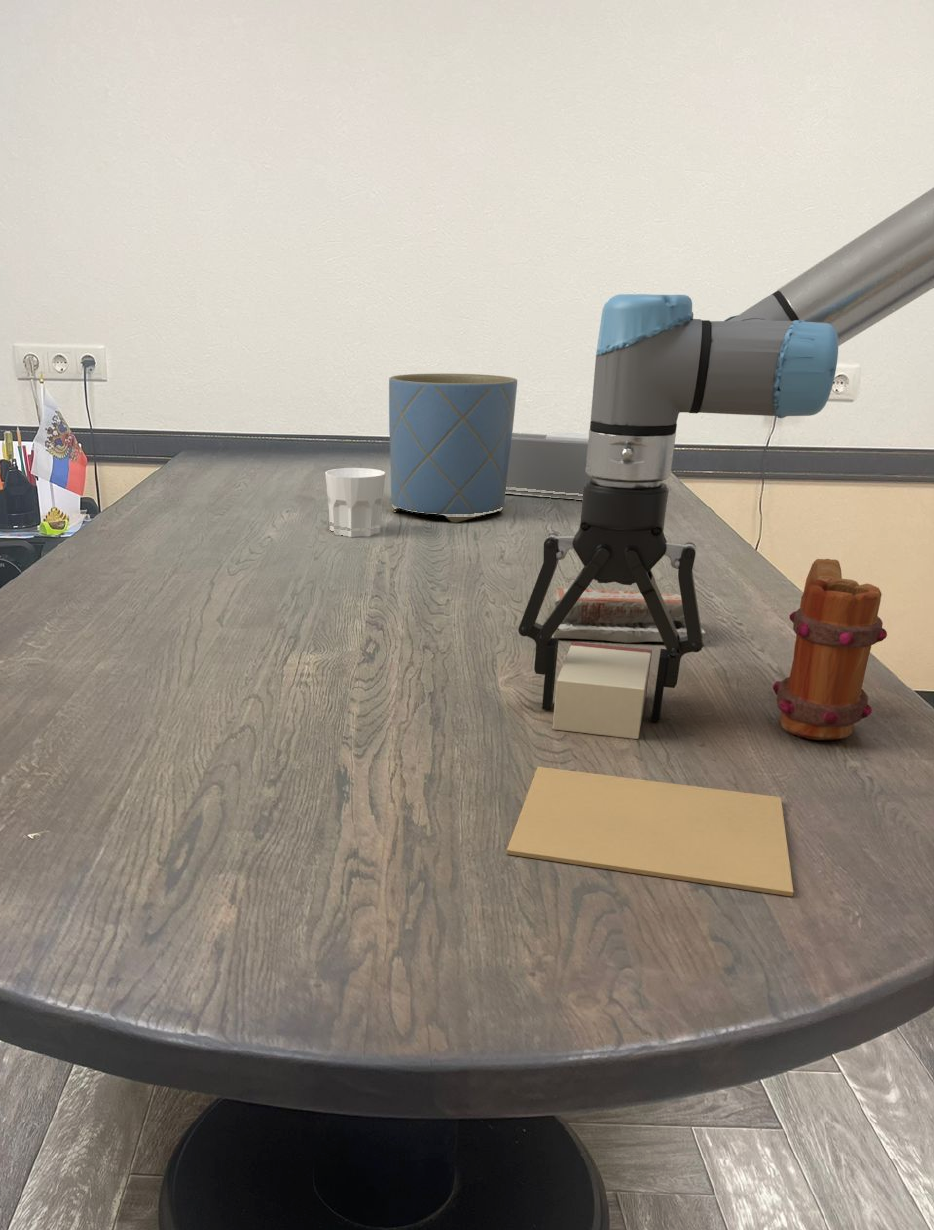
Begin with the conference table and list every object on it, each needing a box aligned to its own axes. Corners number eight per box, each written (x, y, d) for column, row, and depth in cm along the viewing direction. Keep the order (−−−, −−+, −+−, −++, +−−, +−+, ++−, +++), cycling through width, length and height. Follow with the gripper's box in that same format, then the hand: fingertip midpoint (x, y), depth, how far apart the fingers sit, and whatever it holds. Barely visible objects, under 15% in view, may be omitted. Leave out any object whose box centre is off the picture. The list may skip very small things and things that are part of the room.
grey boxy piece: (553, 600, 126) (549, 580, 135) (550, 640, 128) (546, 617, 137) (711, 606, 125) (696, 585, 134) (705, 646, 127) (690, 622, 136)
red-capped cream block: (646, 696, 111) (652, 649, 109) (638, 740, 100) (645, 688, 98) (566, 688, 113) (571, 641, 111) (551, 730, 103) (556, 679, 100)
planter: (361, 512, 200) (362, 378, 190) (434, 496, 215) (439, 371, 206) (461, 529, 186) (469, 386, 176) (531, 511, 202) (542, 378, 192)
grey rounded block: (607, 495, 218) (614, 434, 213) (597, 502, 210) (604, 439, 205) (478, 485, 228) (482, 426, 223) (464, 492, 220) (467, 431, 215)
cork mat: (780, 801, 89) (781, 797, 88) (792, 897, 75) (793, 892, 75) (537, 770, 94) (537, 766, 94) (506, 854, 80) (506, 849, 80)
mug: (872, 754, 98) (909, 592, 91) (778, 747, 99) (808, 587, 93) (836, 699, 111) (866, 554, 104) (753, 694, 112) (778, 550, 106)
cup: (391, 536, 181) (392, 476, 176) (333, 539, 178) (333, 478, 174) (375, 525, 189) (376, 467, 185) (319, 527, 187) (319, 469, 183)
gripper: (496, 480, 97) (481, 710, 106) (759, 494, 91) (719, 738, 100) (510, 467, 104) (495, 686, 113) (756, 481, 98) (719, 710, 107)
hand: (600, 710), depth 107 cm, fingers open, 10 cm apart
